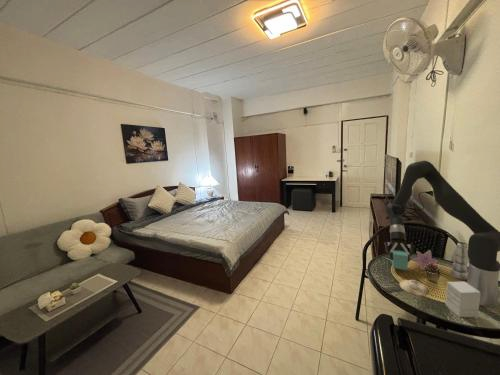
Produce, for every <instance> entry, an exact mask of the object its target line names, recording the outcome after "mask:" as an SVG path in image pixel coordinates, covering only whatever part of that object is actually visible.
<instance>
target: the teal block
mask: <svg viewBox="0 0 500 375" xmlns="http://www.w3.org/2000/svg"><path fill="white" fill-rule="evenodd" d="M392 253H393V260H391V265H392V268H393V269H398V270H402V271H404V270H405V271H408V265H409V264H408V263H409V262H408V255H407V252H405V251H404V250H396V249H394V251H393V252H392Z"/></svg>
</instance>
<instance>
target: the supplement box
mask: <svg viewBox="0 0 500 375" xmlns="http://www.w3.org/2000/svg"><path fill="white" fill-rule="evenodd" d="M480 294H481V292H479V291H478V290H477V289H475V288H474V287H472V286H471V285H469V284H468V283H467V281H465V280H462V281H447V282H446V293H445V306H446V307H447V308H448V309H450V310H451V311H452V312H453V313H454V314H456V315H457V317H460V318H473V317H474V318H475V320H476V319H478V318H479V308H480V305H479V302H480Z"/></svg>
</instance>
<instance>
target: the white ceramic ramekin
mask: <svg viewBox="0 0 500 375" xmlns="http://www.w3.org/2000/svg"><path fill="white" fill-rule="evenodd" d="M409 280H410V288H412V289H415V290H417V289H418V288H419V283H420V282H419V281H417V280H416V279H409Z"/></svg>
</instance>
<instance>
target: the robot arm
mask: <svg viewBox="0 0 500 375" xmlns="http://www.w3.org/2000/svg"><path fill="white" fill-rule="evenodd" d="M419 179H424V180H426V181H427V182H428V184H429V185H430V186H431V188H432V192H433V197H434V199H435V202H436V203H437V204H438V205H439V207H441V209H442V210H443V211H444V212H445V213H446V214H448V215H449V216H451V217H453V218H454V219H456V220H458V221H459V222H461V223H463V224H464V225H465V226H466V227H468V228H469V230H471V232H472V235H470V237H469V238H468V241H467V242H468V243H467V250H468V258H469V260H468V267H467V273H468V276H467V279H466V283H468V284H469V285H471V286H472V287H474V288H475V289H477V290H478V291H479V292H481V294H480V302H479V306H482V307H487V308H488V307H489V308H491V307H492V308H497V304H498V298H499V291H500V287H499V286H498V284H499V279H500V262H499V261H498V260H497V258H498V253H499V252H500V231H499V230H498V229H497V228H496V227H494V225H492V224H491V223H490V222H488V221H487V220H486V219H485V218H483V216H481V215H480V214H479V212H478V211H477V210H476V209H474V207H473V206H472V205H470V203H468V202H467V200H466V199H465V198H464V197H463V196H462V195H461V194H460V193H459V192H458V191H457V190H455V189H454V187H453V186H452V185H451V184H450V183H449V182H448V181H447V180H446V179H445V178H444V177H443V176H442V174H441V173H440V172H439V171H438V169H437V168H436V167H435V166H434V164H433V163H431V162H430V161H428V160H420V161H416V162H412V163H411V162H410V163H409V164H408V165H407V167H406V169H405V172H404V175H403V178H402V181H401V185H400V187H399V190H398V191H397V193H396V195H395V197H394V198H393V202H394V203H388V204H386V206H385V213H386V215H387V217H388V220H389V236H390V241H384V246H385V252H386V253H388V254H389V259H390V260H391V261H392V260H393V253H392V252H393V251H394V249H396V250H404V251H405V252H407V255H408V263H409V262H410V261H411V256H413V255H414V253H415V252H414V244H411V243H409V244H408V243H407V238H406V237H407V236H406V230H405V225H404V219H403V218H402V216H404V215H405V214H406V210H407V205H408V202H409V201H410V199H411V197H412V196H413V187H414V185H415V183H416V182H417V181H418V180H419ZM389 246H391V249H389ZM407 247H408V248H409V251H408V249H407Z"/></svg>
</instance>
